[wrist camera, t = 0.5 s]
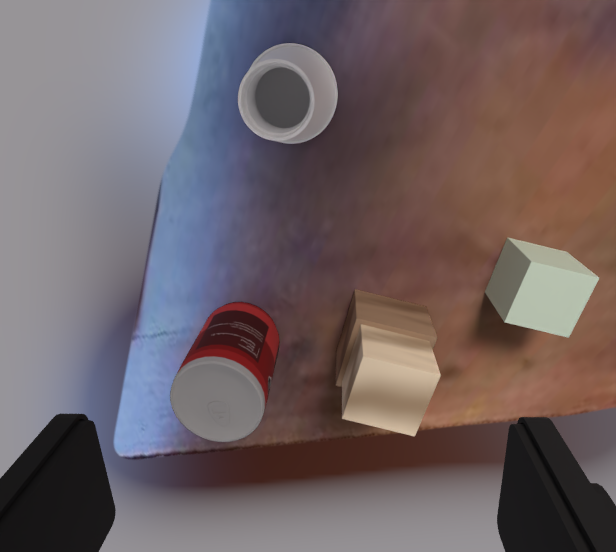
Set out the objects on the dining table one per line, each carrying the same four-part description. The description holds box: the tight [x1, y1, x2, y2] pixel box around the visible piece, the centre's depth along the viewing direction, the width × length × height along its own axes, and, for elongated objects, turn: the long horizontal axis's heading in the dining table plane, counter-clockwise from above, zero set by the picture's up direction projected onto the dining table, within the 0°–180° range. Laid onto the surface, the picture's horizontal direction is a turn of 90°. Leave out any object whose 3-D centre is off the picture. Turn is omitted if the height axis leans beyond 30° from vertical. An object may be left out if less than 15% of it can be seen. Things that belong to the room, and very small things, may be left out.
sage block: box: [485, 238, 599, 338], centre depth 41 cm, size 6×6×6 cm
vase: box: [238, 43, 338, 144], centre depth 35 cm, size 8×8×10 cm
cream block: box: [336, 289, 437, 387], centre depth 45 cm, size 7×7×6 cm
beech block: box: [342, 324, 441, 436], centre depth 40 cm, size 6×6×5 cm
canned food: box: [170, 302, 279, 442], centre depth 44 cm, size 8×8×11 cm
